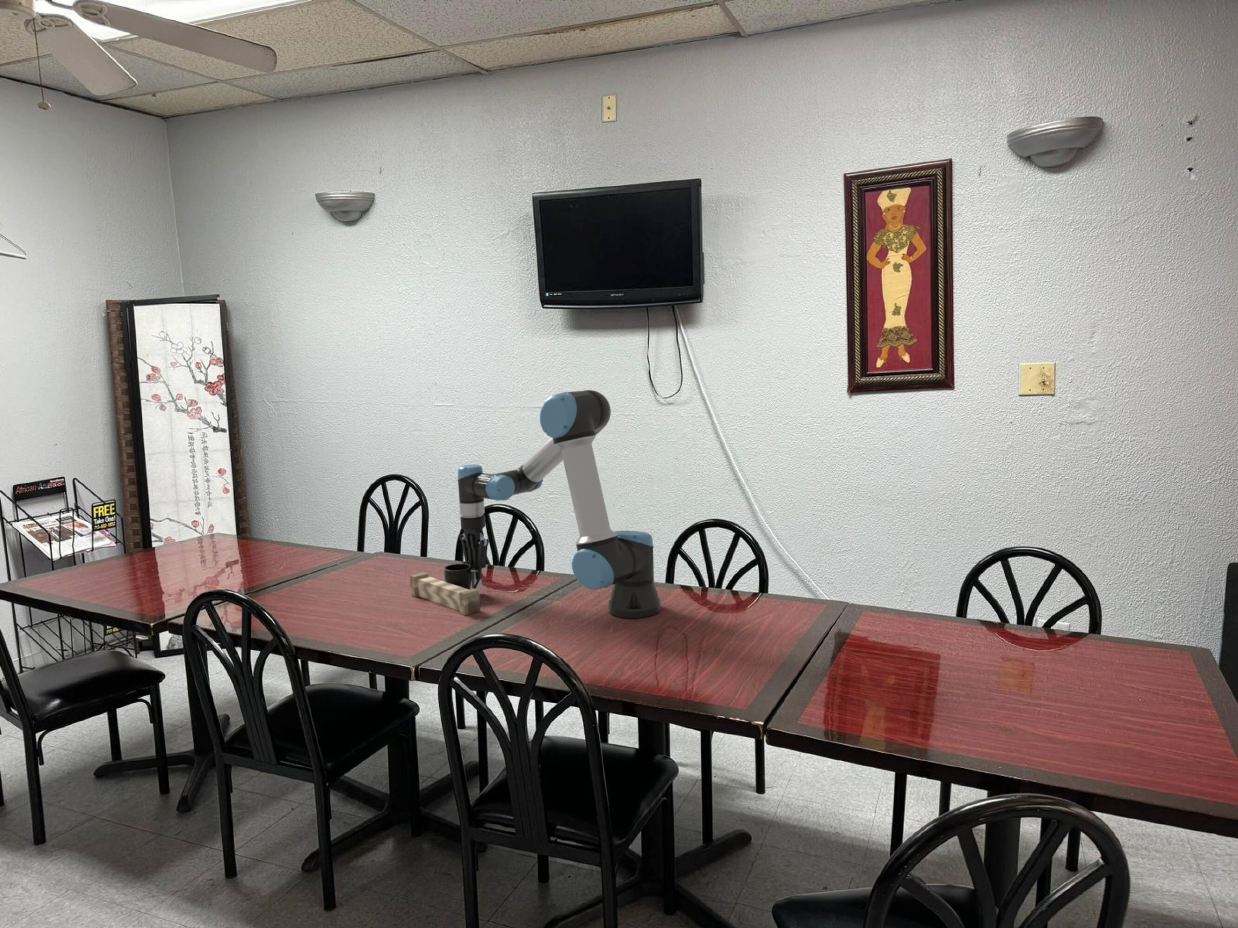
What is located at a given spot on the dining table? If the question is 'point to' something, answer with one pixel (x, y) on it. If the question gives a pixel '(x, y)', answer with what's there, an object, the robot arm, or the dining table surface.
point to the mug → (460, 575)
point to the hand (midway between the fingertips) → (477, 588)
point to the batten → (445, 593)
